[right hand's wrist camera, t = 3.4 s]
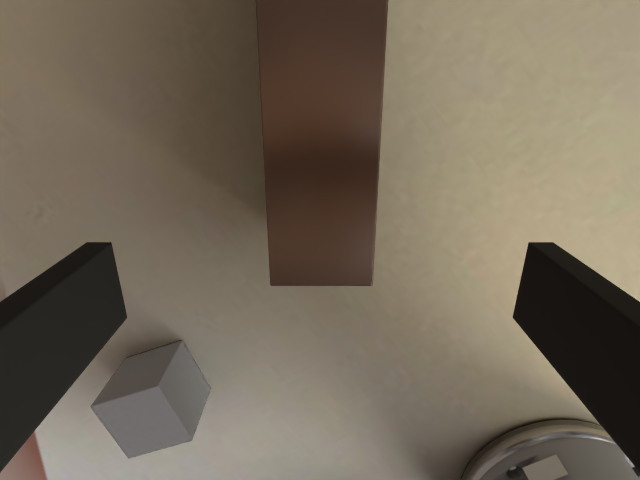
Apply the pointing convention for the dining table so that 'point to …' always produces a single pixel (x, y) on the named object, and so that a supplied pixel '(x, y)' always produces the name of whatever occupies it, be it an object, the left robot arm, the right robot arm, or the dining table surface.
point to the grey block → (153, 400)
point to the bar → (321, 136)
